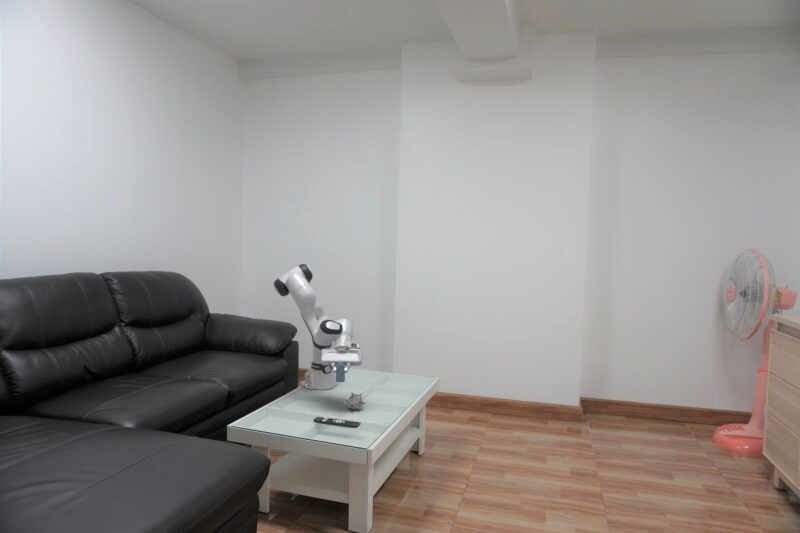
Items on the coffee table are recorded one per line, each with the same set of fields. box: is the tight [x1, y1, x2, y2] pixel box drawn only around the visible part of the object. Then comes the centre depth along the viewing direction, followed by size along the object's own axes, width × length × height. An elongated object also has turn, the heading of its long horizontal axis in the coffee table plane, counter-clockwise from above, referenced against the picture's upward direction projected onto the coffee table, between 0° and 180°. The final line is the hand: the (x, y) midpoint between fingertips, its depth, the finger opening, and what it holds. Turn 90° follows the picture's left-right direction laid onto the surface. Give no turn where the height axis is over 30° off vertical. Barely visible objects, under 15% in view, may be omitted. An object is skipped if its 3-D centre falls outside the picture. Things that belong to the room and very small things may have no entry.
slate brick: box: [335, 363, 346, 383], centre depth 265 cm, size 4×4×9 cm
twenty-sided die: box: [345, 392, 366, 412], centre depth 269 cm, size 9×8×10 cm
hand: (340, 372), depth 265 cm, fingers closed on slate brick, 4 cm apart
